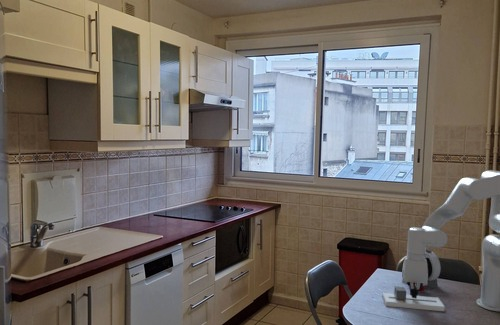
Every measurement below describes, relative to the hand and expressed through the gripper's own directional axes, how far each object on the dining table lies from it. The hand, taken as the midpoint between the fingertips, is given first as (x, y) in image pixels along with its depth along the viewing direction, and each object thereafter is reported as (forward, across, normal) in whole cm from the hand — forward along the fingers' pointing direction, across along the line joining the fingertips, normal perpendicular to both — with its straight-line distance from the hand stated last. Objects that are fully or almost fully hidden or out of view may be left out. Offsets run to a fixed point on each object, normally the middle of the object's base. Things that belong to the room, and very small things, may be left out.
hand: (413, 297), depth 182 cm
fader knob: (+1, +6, 0) cm, 6 cm away
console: (+3, 0, 0) cm, 3 cm away
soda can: (+3, -5, -18) cm, 19 cm away
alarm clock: (+4, -10, -29) cm, 31 cm away
